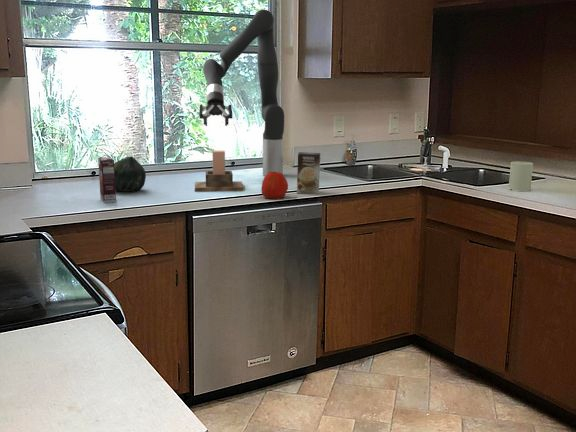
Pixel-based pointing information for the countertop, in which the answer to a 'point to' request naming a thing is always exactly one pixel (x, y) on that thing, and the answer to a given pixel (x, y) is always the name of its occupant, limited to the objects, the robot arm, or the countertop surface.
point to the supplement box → (107, 179)
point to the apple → (274, 185)
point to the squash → (129, 175)
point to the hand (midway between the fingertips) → (216, 124)
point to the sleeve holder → (219, 183)
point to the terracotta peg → (218, 162)
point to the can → (520, 175)
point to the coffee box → (308, 173)
